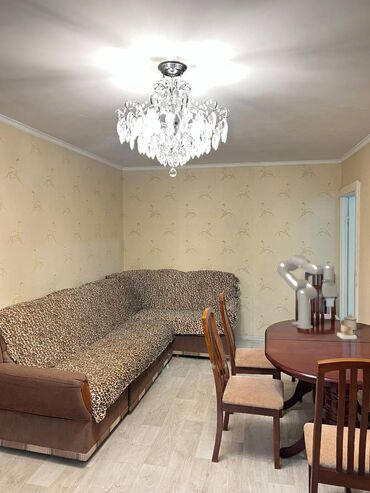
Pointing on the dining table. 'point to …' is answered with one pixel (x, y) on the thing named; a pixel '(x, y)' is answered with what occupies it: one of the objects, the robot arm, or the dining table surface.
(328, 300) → the blue block
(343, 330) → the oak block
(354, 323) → the teacup with lid
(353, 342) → the dining table surface
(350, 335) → the plinth
